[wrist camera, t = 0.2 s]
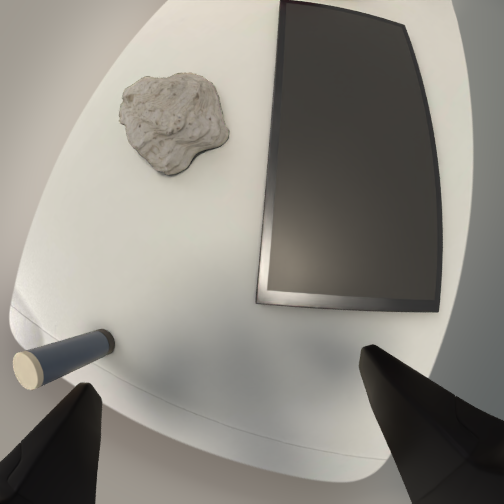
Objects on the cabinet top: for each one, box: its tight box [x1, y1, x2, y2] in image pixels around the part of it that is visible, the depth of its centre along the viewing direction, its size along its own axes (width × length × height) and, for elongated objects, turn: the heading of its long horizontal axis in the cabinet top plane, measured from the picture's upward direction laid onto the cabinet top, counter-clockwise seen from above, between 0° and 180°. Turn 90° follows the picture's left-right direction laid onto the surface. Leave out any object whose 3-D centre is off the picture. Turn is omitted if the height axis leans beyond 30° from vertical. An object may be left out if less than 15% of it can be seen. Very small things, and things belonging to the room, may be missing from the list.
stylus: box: [13, 329, 114, 390], centre depth 16 cm, size 2×2×10 cm
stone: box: [119, 73, 229, 175], centre depth 21 cm, size 10×5×10 cm
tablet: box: [256, 0, 443, 312], centre depth 22 cm, size 32×15×1 cm, turn 175°
